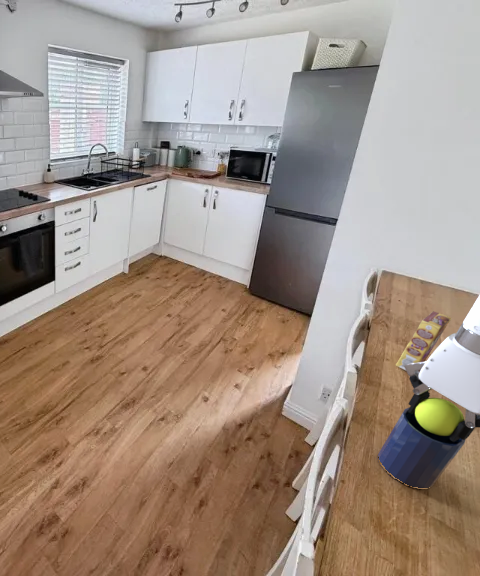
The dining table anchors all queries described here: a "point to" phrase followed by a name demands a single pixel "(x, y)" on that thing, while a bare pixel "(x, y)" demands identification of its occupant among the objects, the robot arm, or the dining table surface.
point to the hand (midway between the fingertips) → (434, 423)
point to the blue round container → (417, 452)
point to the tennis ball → (438, 416)
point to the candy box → (424, 339)
